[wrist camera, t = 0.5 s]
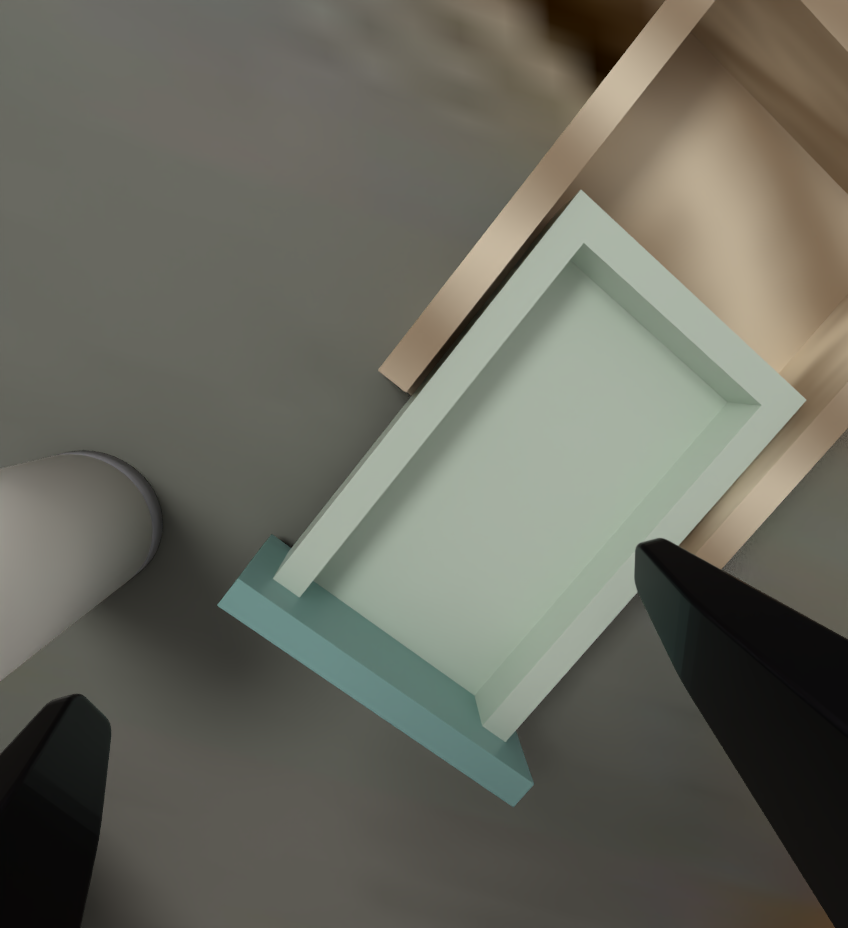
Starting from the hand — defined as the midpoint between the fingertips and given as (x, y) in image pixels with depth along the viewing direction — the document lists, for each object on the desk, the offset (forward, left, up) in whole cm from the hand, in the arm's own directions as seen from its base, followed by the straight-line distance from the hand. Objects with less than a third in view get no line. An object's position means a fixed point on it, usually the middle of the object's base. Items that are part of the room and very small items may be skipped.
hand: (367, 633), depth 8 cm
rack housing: (+12, -5, -15) cm, 19 cm away
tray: (+4, -5, -15) cm, 16 cm away
